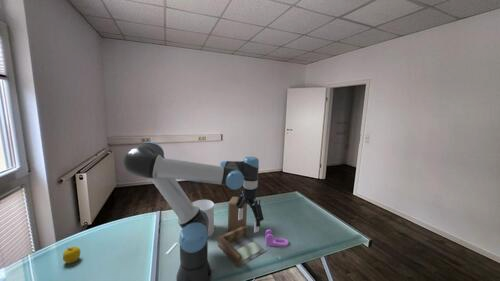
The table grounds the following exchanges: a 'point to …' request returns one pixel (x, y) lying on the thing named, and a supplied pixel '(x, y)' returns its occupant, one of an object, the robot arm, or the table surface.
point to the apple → (71, 254)
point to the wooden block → (235, 215)
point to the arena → (239, 246)
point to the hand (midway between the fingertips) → (248, 225)
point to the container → (207, 212)
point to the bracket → (274, 240)
